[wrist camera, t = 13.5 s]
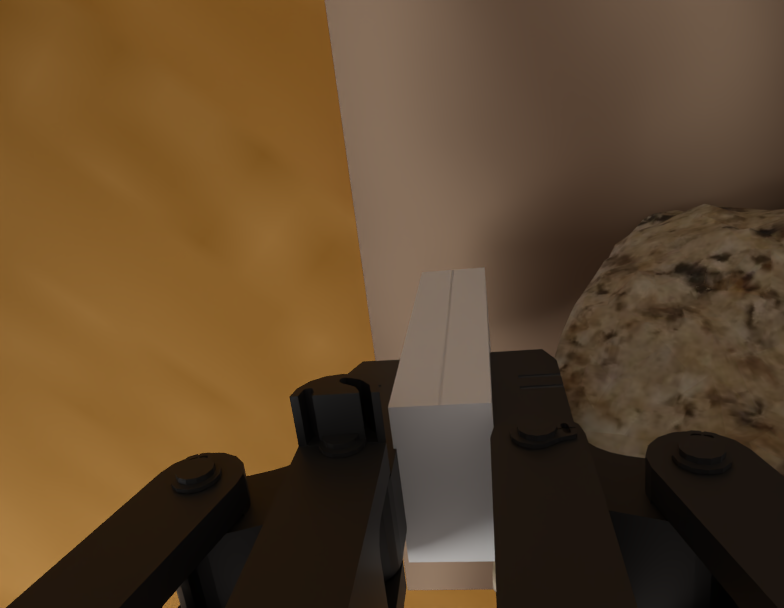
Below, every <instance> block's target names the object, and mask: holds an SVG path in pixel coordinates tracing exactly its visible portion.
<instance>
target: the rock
mask: <svg viewBox="0 0 784 608" xmlns="http://www.w3.org/2000/svg"><path fill="white" fill-rule="evenodd" d="M554 358H555V359H556V360H557V363H558V366H559V370H560V375H561V377H562V381H563V386H564V388H565V392H566V395H567V399H568V402H569V406H570V410H571V413H572V417H573V420H574V422H576V423H577V424H579V425H580V426H581V428H582V429H583V431H584V432H585V433H586V436H587V440H588V443H590V444H592V445H594V446H595V447H597V448H600V449H603V450H606V451H608V452H612V453H617V454H621V455H626V456H633V457H640V458H645V455H646V451H647V447H648V445H649V444H650V443H651V442H652V441H654V440H655V439H656V438H657V437H660V436H663V435H666V434H669V433H672V432H682V431H691V430H694V431H701V432H704V431H706V432H712V433H716V434H718V435H721V436H725V437H728V438H731V439H734V440H736V441H738V442H739V443H741V444H743V445H745V446H746V447H748V448H750V449H751V450H752V451H754V452H755V453H756V454H757V455H758V456H760V457H761V458H762V459H763V460H765V461H766V462H767V463H768V464H769V465H771V466H772V467H773V468H774V469H775V470H777V471H778V472H779V473H780V474H782V475H783V476H784V209H777V210H771V211H769V210H759V209H748V208H736V207H719V206H713V205H708V204H702V205H700V206H698V207H695V208H693V209H690V210H688V211H685V212H683V211H679V210H674V211H667V212H661V213H655V214H653V215H650V216H648V217H646V218H644V219H643V220H642V221H641V223H640V224H639V225H638V226H637V227H636V228H635V229H634V230H633V231H632V232H631V234H630V235H628V236H627V237H626V238H624V239H623V240H621V241H620V242H618V243H617V244H615V246H614V248H613V250H612V252H611V254H610V256H609V258H608V259H606V260H605V261H604V262H603V264H602V265H601V267H600V268H599V270H598V271H597V273H596V275H595V276H594V278H593V279H592V280H591V282H590V283H589V285H588V286H587V288H586V289H585V291H584V292H583V294H582V295H581V296H580V298H579V299H578V301H577V302H576V304H575V305H574V307H573V310H572V312H571V314H570V316H569V318H568V320H567V323H566V325H565V327H564V330H563V332H562V334H561V337H560V341H559V344H558V347H557V350H556V354H555V357H554ZM493 589H494V591H495V592H496V574H495V561H493Z"/></svg>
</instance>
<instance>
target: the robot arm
mask: <svg viewBox="0 0 784 608" xmlns="http://www.w3.org/2000/svg"><path fill="white" fill-rule="evenodd" d="M290 402H291V407H292V412H293V417H294V423H295V428H296V433H297V439H298V444H299V447H298V449H297V451H296V454H295V456H294V458H293V460H292V462H291V465H289V466H286V467H283V468H279V469H276V470H273V471H268V472H264V473H259V474H255V475H251V476H246V473H245V469H244V464H243V462H242V461H241V460H240V459H238V458H237V457H236V456H233V455H230V454H226V453H202V454H200V455H198V454H197V455H193V456H190V457H188V458H186V459H184V460H182V461H180V462H177V463H175V464H173V465H171V466H170V467H169V468H167V469H166V470H164V471H163V472H161V473H160V474H159V475H157V476H156V477H155V478H154V479H153V480H152V481H151V482H149V483H148V484H147V485H146V486H145V487H144V488H143V489H141V490H140V491H139V492H138V493H137V494H136V495H134V496H133V497H132V498H131V499H130V500H129V501H128V502H126V503H125V504H124V505H123V506H122V507H121V508H120V509H118V510H117V511H116V512H115V513H114V514H113V515H112V516H110V517H109V518H108V519H107V520H106V521H105V522H104V523H102V524H101V525H100V526H99V527H98V528H97V529H96V530H94V531H93V532H92V533H91V534H90V535H89V536H88V537H86V538H85V539H84V540H83V541H82V542H81V543H79V544H78V545H77V546H76V547H75V548H74V549H73V550H71V551H70V552H69V553H68V554H67V555H66V556H65V557H63V558H62V559H61V560H60V561H59V562H58V563H57V564H55V565H54V566H53V567H52V568H51V569H50V570H49V571H47V572H46V573H45V574H44V575H43V576H42V577H41V578H39V579H38V580H37V581H36V582H35V583H34V584H33V585H31V586H30V587H29V588H28V589H27V590H26V591H24V592H23V593H22V594H21V595H20V596H19V597H18V598H16V599H15V600H14V601H13V602H12V603H11V604H10V605H8V606H7V607H6V608H162V607H163V605H164V604H165V603H166V602H167V600H168V599H169V598H170V597H171V596H172V595H173V594H174V592H175V591H177V594H178V598H179V601H180V606H179V607H178V608H404V601H405V594H406V581H405V574H404V567H403V553H404V547H405V540H406V545H407V553H408V560H409V562H483V561H495V574H496V599H497V608H784V476H783V475H782V474H780V473H779V472H778V471H777V470H775V469H774V468H773V467H772V466H771V465H769V464H768V463H767V462H766V461H765V460H763V459H762V458H761V457H760V456H758V455H757V454H756V453H755V452H754V451H752V450H751V449H750V448H748V447H746V446H745V445H743V444H741V443H739V442H738V441H736V440H734V439H731V438H728V437H725V436H721V435H718V434H716V433H712V432H706V431H704V432H701V431H694V430H691V431H682V432H672V433H669V434H666V435H663V436H660V437H657V438H656V439H655V440H654V441H652V442H651V443H650V444H649V445H648V447H647V451H646V455H645V458H640V457H633V456H626V455H621V454H617V453H612V452H608V451H606V450H603V449H600V448H597V447H595V446H594V445H592V444H590V443H588V440H587V436H586V433H585V432H584V431H583V429H582V428H581V426H580V425H579V424H577V423H576V422H574V420H573V417H572V413H571V410H570V406H569V402H568V399H567V395H566V392H565V388H564V386H563V381H562V377H561V375H560V370H559V366H558V363H557V360H556V359H555V358H554V357H552V356H551V355H550V354H548V353H547V352H546V351H544V350H543V349H534V350H517V351H500V352H491V346H490V333H489V320H488V306H487V293H486V280H485V267H483V268H470V269H458V270H445V271H432V272H422V275H421V279H420V283H419V287H418V291H417V295H416V299H415V302H414V306H413V310H412V314H411V318H410V322H409V326H408V330H407V334H406V338H405V342H404V346H403V350H402V354H401V358H400V360H383V361H366V362H362V363H361V364H359V365H358V366H357V367H356V368H354V369H353V370H352V371H351V372H349V373H348V374H340V375H333V376H326V377H323V378H319V379H316V380H313V381H310V382H308V383H306V384H305V385H303V386H301V387H299V388H297V389H296V390H295V391H294V393H293V394H292V395H291V396H290Z"/></svg>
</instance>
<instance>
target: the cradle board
mask: <svg viewBox="0 0 784 608" xmlns="http://www.w3.org/2000/svg"><path fill="white" fill-rule="evenodd" d="M325 5H326V13H327V20H328V27H329V34H330V41H331V48H332V55H333V62H334V69H335V76H336V83H337V91H338V98H339V105H340V112H341V119H342V126H343V133H344V140H345V147H346V154H347V161H348V169H349V176H350V183H351V190H352V197H353V204H354V211H355V218H356V225H357V232H358V239H359V247H360V254H361V261H362V268H363V275H364V282H365V289H366V296H367V303H368V310H369V317H370V325H371V332H372V339H373V346H374V353H375V360H376V361H383V360H400V358H401V354H402V350H403V346H404V342H405V338H406V334H407V330H408V326H409V322H410V318H411V314H412V310H413V306H414V302H415V299H416V295H417V291H418V287H419V283H420V279H421V275H422V272H432V271H445V270H458V269H470V268H483V267H485V280H486V293H487V306H488V320H489V333H490V346H491V352H500V351H517V350H534V349H543V350H544V351H546V352H547V353H548V354H550V355H551V356H552V357H555V354H556V350H557V347H558V344H559V341H560V337H561V334H562V332H563V330H564V327H565V325H566V323H567V320H568V318H569V316H570V314H571V312H572V310H573V307H574V305H575V304H576V302H577V301H578V299H579V298H580V296H581V295H582V294H583V292H584V291H585V289H586V288H587V286H588V285H589V283H590V282H591V280H592V279H593V278H594V276H595V275H596V273H597V271H598V270H599V268H600V267H601V265H602V264H603V262H604V261H605V260H606V259H608V258H609V256H610V254H611V252H612V250H613V248H614V246H615V244H617V243H618V242H620V241H621V240H623V239H624V238H626V237H627V236H628V235H630V234H631V232H632V231H633V230H634V229H635V228H636V227H637V226H638V225H639V224H640V223H641V221H642V220H643V219H644V218H646V217H648V216H650V215H653V214H655V213H661V212H667V211H674V210H679V211H683V212H685V211H688V210H690V209H693V208H695V207H698V206H700V205H702V204H708V205H713V206H719V207H736V208H748V209H759V210H769V211H771V210H777V209H784V0H325ZM403 558H404V566H405V573H406V580H407V587H408V590H467V589H493V561H483V562H409V560H408V553H407V545H406V540H405V547H404V553H403Z"/></svg>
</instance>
